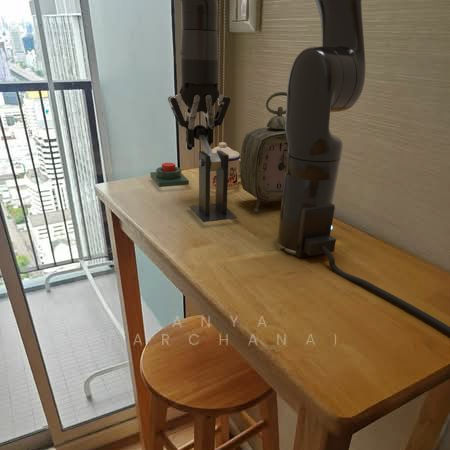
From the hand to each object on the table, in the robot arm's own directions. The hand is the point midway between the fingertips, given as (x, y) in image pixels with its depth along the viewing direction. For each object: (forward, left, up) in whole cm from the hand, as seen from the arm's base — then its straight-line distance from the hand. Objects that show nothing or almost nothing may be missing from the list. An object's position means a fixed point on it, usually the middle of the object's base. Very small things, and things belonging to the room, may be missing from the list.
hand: (199, 145), depth 92 cm
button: (+17, +3, -10) cm, 20 cm away
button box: (+17, +3, -13) cm, 22 cm away
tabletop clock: (-8, -15, -14) cm, 22 cm away
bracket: (-9, 0, -13) cm, 16 cm away
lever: (-4, 0, -1) cm, 4 cm away
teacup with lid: (+10, -11, -14) cm, 20 cm away
